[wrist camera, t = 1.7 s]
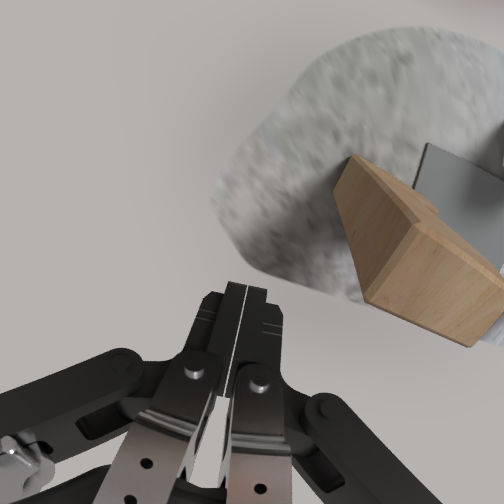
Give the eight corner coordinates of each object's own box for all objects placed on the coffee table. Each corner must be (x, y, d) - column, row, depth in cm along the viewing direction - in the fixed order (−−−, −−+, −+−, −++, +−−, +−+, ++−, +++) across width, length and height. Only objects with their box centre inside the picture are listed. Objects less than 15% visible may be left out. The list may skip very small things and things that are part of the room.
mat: (529, 198, 27) (530, 199, 27) (490, 285, 35) (491, 286, 35) (427, 142, 27) (428, 143, 27) (386, 258, 35) (387, 260, 35)
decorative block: (426, 198, 30) (518, 296, 13) (402, 235, 33) (468, 353, 16) (353, 150, 29) (421, 217, 12) (329, 192, 32) (358, 303, 15)
